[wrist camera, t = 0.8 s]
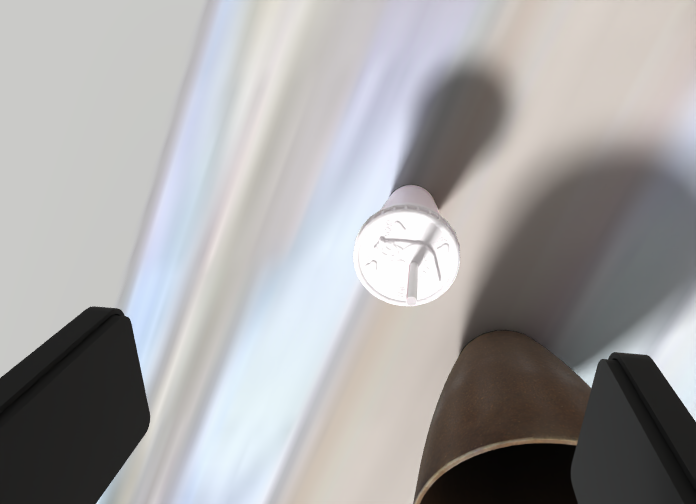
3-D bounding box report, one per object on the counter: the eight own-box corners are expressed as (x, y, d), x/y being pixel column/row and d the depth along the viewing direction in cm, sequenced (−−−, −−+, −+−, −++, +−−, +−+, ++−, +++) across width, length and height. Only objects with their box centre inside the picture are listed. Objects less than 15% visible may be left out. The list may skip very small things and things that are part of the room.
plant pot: (620, 303, 38) (738, 468, 24) (570, 445, 44) (639, 643, 30) (429, 278, 40) (429, 417, 25) (406, 418, 46) (396, 594, 31)
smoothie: (422, 260, 39) (420, 368, 26) (354, 219, 39) (318, 309, 26) (470, 195, 36) (493, 281, 24) (397, 150, 36) (381, 213, 23)
